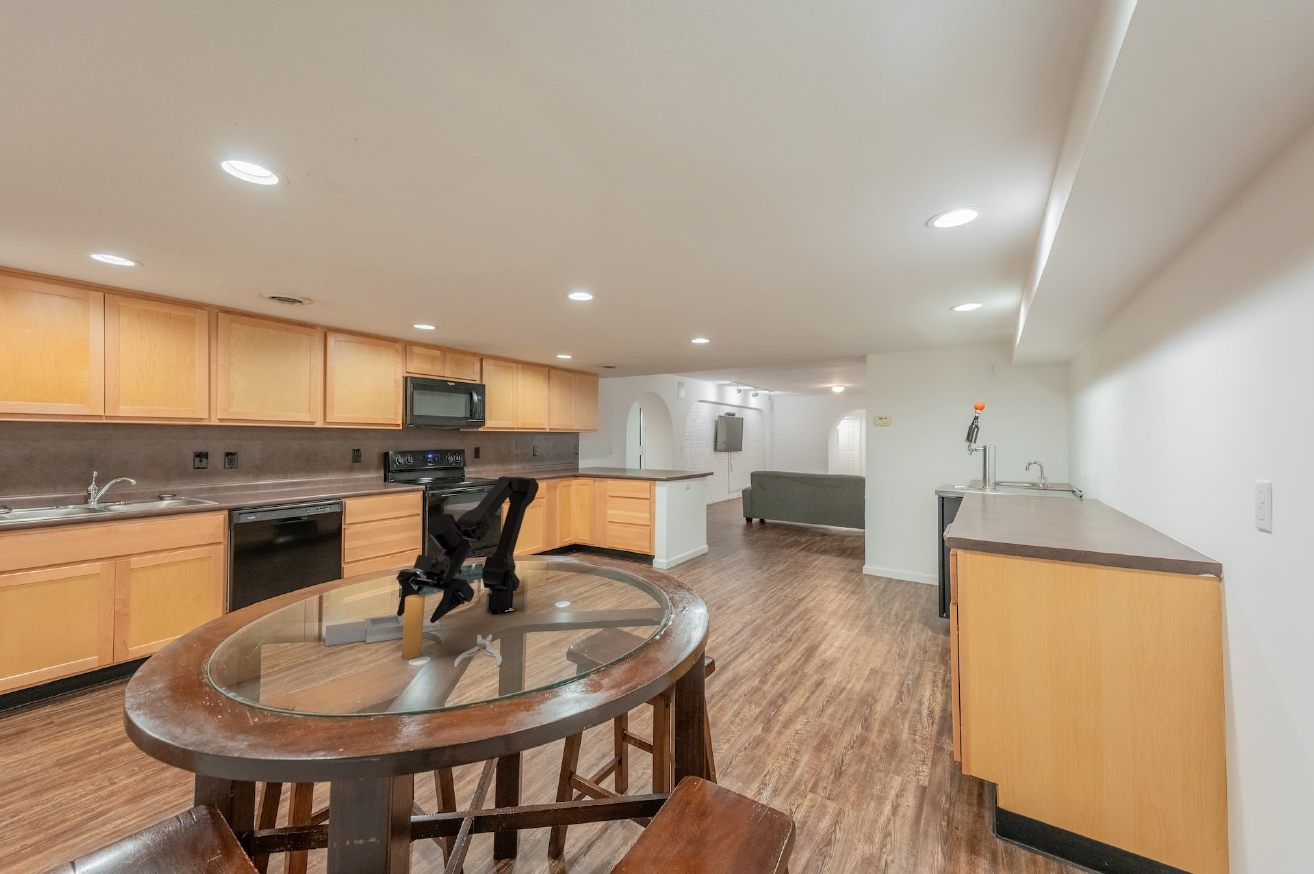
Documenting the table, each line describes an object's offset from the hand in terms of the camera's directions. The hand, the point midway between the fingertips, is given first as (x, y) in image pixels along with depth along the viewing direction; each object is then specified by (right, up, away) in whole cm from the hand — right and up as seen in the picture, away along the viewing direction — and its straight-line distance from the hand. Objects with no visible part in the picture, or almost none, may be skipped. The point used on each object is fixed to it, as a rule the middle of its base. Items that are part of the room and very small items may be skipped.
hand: (414, 618), depth 115 cm
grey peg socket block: (-12, -7, +10) cm, 17 cm away
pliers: (+14, -10, +3) cm, 17 cm away
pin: (-1, -8, 0) cm, 8 cm away
